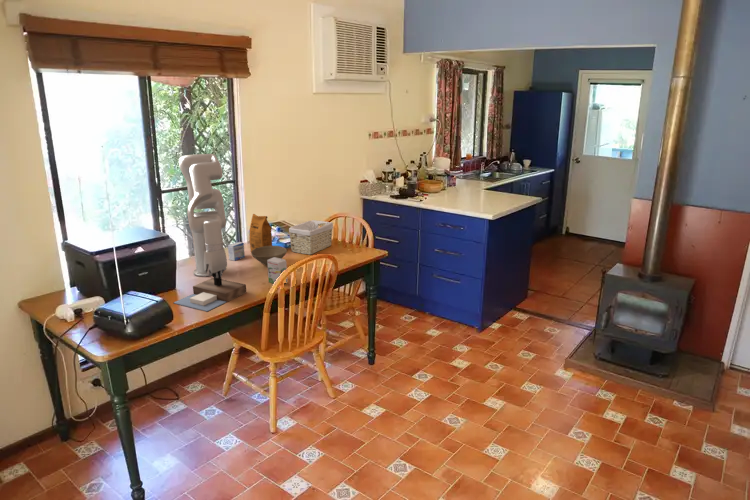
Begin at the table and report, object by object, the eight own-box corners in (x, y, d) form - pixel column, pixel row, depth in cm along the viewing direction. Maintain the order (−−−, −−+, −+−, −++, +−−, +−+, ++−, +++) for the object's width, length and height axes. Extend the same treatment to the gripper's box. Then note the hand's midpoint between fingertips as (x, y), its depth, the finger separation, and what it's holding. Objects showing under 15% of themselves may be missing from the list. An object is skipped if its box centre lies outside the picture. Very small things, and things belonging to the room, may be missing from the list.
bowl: (269, 272, 267) (268, 257, 265) (244, 266, 277) (243, 251, 274) (294, 262, 282) (293, 248, 279) (269, 257, 291) (268, 243, 289)
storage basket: (312, 242, 320) (311, 218, 316) (334, 245, 313) (334, 221, 308) (288, 252, 300) (287, 227, 296) (311, 256, 293) (310, 231, 288)
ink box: (268, 282, 253) (266, 259, 250) (275, 279, 257) (273, 256, 254) (280, 285, 249) (279, 262, 245) (288, 282, 253) (286, 259, 249)
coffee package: (260, 248, 309) (258, 211, 302) (275, 251, 301) (272, 214, 295) (247, 252, 301) (244, 215, 295) (261, 256, 294) (259, 218, 287)
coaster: (204, 296, 236) (203, 292, 235) (216, 299, 232) (216, 295, 231) (190, 302, 229) (189, 298, 228) (203, 305, 225) (202, 301, 225)
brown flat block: (214, 285, 250) (213, 277, 248) (246, 292, 241) (245, 284, 240) (193, 294, 239) (192, 286, 237) (226, 302, 230) (225, 293, 229)
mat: (193, 294, 238) (193, 293, 238) (226, 302, 230) (226, 301, 229) (173, 303, 229) (173, 302, 229) (207, 311, 220) (207, 310, 220)
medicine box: (234, 261, 285) (233, 246, 283) (228, 259, 287) (227, 244, 285) (245, 257, 292) (243, 242, 289) (239, 256, 294) (238, 241, 291)
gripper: (220, 241, 241) (223, 278, 246) (195, 249, 228) (199, 288, 234) (232, 243, 237) (235, 281, 243) (208, 252, 225) (212, 291, 230)
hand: (218, 284), depth 238 cm, fingers closed
